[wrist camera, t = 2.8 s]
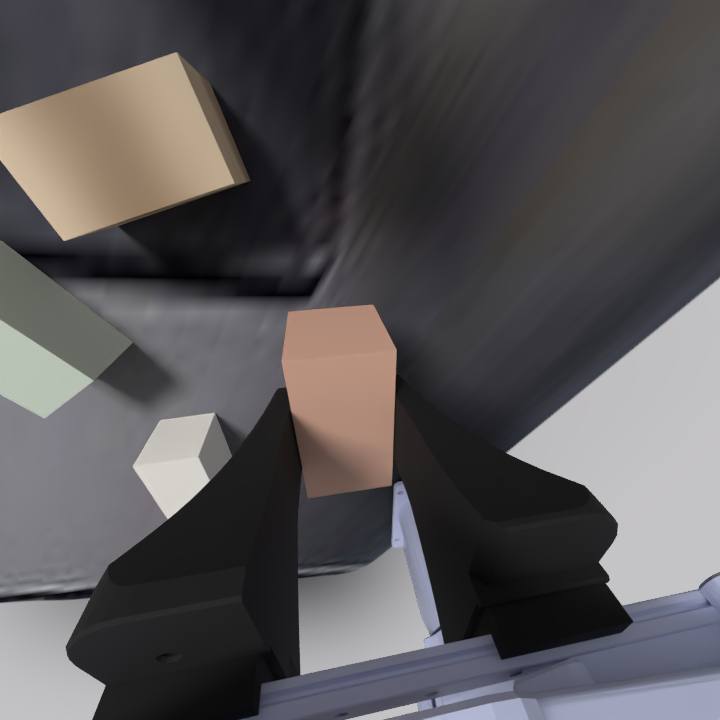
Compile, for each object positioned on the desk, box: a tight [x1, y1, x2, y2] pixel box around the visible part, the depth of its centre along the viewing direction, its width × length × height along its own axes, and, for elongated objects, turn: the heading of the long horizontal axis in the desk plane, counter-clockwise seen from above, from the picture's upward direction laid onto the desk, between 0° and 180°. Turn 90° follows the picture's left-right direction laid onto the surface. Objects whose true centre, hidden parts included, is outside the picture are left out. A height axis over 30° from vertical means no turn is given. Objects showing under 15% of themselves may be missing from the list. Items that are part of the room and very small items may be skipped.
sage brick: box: [0, 241, 133, 418], centre depth 13 cm, size 6×3×4 cm, turn 33°
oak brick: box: [0, 52, 251, 241], centre depth 11 cm, size 6×3×4 cm, turn 106°
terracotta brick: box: [282, 305, 397, 498], centre depth 12 cm, size 6×3×4 cm, turn 2°
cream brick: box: [133, 413, 232, 519], centre depth 19 cm, size 6×3×4 cm, turn 3°
